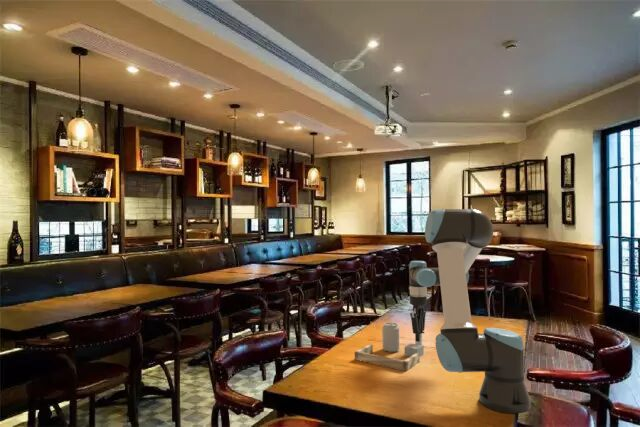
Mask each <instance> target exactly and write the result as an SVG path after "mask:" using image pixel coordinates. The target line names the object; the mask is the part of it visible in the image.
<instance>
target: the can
mask: <svg viewBox="0 0 640 427" xmlns="http://www.w3.org/2000/svg"><path fill="white" fill-rule="evenodd" d="M381 331H382V349H383V351H385V352H386V351H388V353H396V352H398V351H399V350H400V327H399V326H398V323H397V322H385V323H383V326H382V330H381Z"/></svg>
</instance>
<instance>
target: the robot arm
mask: <svg viewBox="0 0 640 427" xmlns="http://www.w3.org/2000/svg"><path fill="white" fill-rule="evenodd" d="M493 236H494V226H493V223H492V221H491V219H490V218H489V217H488V216H487V215H486V213H485V212H482V211H481V210H477V209H476V208H475V209H474V208H465V209H464V208H460V209H459V208H456V209H455V208H439V209H433V210H431V211H430V212H429V213H428V214H427V217H426V221H425V227H424V238H425V241H426V242H427V243H429V244H431V248H432V249H431V250H433V251H435V253H436V254H437V255H436V257H437V264H438V267H427V262H426V261H424V260H411V261H410V262H409V265H408V266H409V267H408V273H409V286H408V289H409V304H410V305H412V312H410V313H409V314H410V319H411V320H410V322H411V328H412V333H413V335H415V336H414V340H415V342H414V344H416V345H422V346H423V334H425V325H426V314H427V313H426V312H427V308H425V306H426V305H427V302H428V296H427V295H428V288H430V287H432V286H435V287H436V286H437V287H438V286H440V293H441V304H442V313H443V322H444V323H443V325H442V326H441V327H440V328H439V329H440V330H439V332H440V333H438V334H437V335H436V336H435V349H436V354H437V357H438V361H439V363H440V365H441V366H442V368H443V369H444V370H445V371H447V372H450V373H459V374H461V373H481V372H482V373H483V372H484V378H483V381H482V383H481V387H480V389H479V393H478V394H479V398H478V399H479V400H478V401H479V402H480V404H482V405H483V406H484V407H486V408H487V409H490V410H493V411H496V412H499V413H506V414H523V413H526V412H529V411H530V410H531V408H532V407H531V406H532V405H531V403H532V402H531V398H530V395H529V392H528V388H527V386H526V383H525V355H524V354H525V352H524V351H525V346H524V339H523V337H522V336H521V335H520V334H518V333H517V332H515V331H512V330H508V329H504V328H498V327H485V328H484V330H483V331H482V332H483V333H479V331H478V327H477V326H476V325H475V324H474V323H473V322H472V315H471V314H472V313H471V307H470V306H471V305H470V300H469V298H470V297H469V293H468V292H469V291H468V283H469V279H470V274H469V270H470V268H471V266H472V265H473V264H474V262H475V260H476V259H477V258H478V256H479V254H480V253H481V252H482V249H484V248H486V247H488V246H489V245H490V243H491V242H492V240H493Z"/></svg>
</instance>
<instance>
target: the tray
mask: <svg viewBox="0 0 640 427" xmlns="http://www.w3.org/2000/svg"><path fill="white" fill-rule="evenodd" d="M373 347H374V345H373V344H367V345H366V346H364V347H361V348H360V349H358V350H355V351H354V360H355V359H356V360H361V361H365V362H364V363H366V362H369V363H368V364H370V363H374V364H373V365H375V364H378V365H377V366H379V365H382V366H381V367H384V366H386V367H385V368H389V367H390V368H389V369H393V368H394V370H398V371H403V372H408V371H409V370H410V369H412V368H413V367H414V366H416V365H417V364H419V363H420V357H419V354H418V353H415V354H414V355H412V356H411V357H410V356H408V357H407V358H405V360H403V359H398V358H394V357H387V356H383V355H380V354H379V355H377V354H374V353H372V352H374V350H373ZM370 353H372V354H370ZM356 360H355V361H356ZM361 361H360V362H361Z"/></svg>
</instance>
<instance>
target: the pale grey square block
mask: <svg viewBox="0 0 640 427" xmlns="http://www.w3.org/2000/svg"><path fill="white" fill-rule="evenodd" d="M415 353H418V354H419V358H420V357H421V356H424V345H423V344H422V345H416V344H415V343H409V344H407V345H405V346H404V356H406V357H411V356H412V355H414V354H415Z"/></svg>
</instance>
